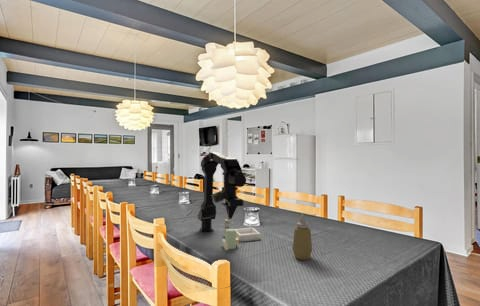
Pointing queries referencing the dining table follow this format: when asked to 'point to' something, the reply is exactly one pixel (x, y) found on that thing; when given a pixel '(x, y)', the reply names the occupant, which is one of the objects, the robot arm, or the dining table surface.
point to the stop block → (230, 238)
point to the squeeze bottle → (302, 240)
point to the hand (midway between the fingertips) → (230, 218)
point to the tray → (247, 234)
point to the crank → (228, 228)
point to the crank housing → (225, 244)
